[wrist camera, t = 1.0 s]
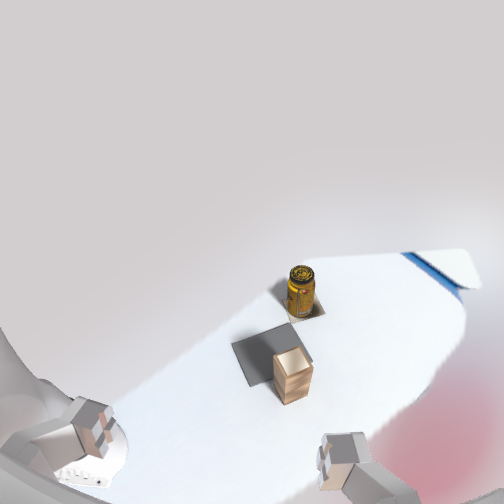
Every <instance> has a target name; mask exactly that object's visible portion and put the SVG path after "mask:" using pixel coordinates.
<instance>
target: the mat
mask: <svg viewBox="0 0 504 504" xmlns="http://www.w3.org/2000/svg"><path fill="white" fill-rule="evenodd" d="M299 345H300V346H301V347H302V349H303V351H304V353H305V354H306V356H307V358H308V359H309V361H310V363H311V362H313V360H312V358H311V357H310V355H309V353H308V352H307V350H306V348H305V347H304V345H303V343H302V342H301V340H300V338H299V337H298V335H297V333H296V331H295V330H294V328H293V326H292V325H291V323H288V324H286V325H283V326H281V327H278V328H275V329H273V330H270V331H267V332H265V333H262V334H259V335H256V336H254V337H251V338H248V339H245V340H243V341H240V342H237V343H234V344H232V346H233V348H234V351H235V353H236V355H237V358H238V360H239V362H240V364H241V367H242V369H243V371H244V374H245V376H246V378H247V380H248V383H249V385H250V387H252V386H255V385H258V384H260V383H263V382H265V381H268V380H271V379H273V378H274V365H273V356H274V355H276V354H279V353H281V352H284V351H286V350H289V349H291V348H294V347H296V346H299Z"/></svg>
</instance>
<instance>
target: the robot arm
mask: <svg viewBox="0 0 504 504" xmlns="http://www.w3.org/2000/svg"><path fill="white" fill-rule="evenodd" d="M113 414H114V412H113V409H112V407H111V406H108V405H105V404H102V403H99V402H96V401H93V400H90V399H86V398H83V397H80V396H79V397H76V398H75V400H74V399H72V398H70V397H68V396H66V395H65V394H64V393H63V392H62V391H60V390H59V389H58V388H57V387H56V386H54V385H53V384H52V383H51V382H49V381H47V380H45V379H38V378H37V377H35V376H34V375H33V374H32V373H31V372H30V371H29V369H28V368H27V367H26V366H25V365H24V363H23V362H22V361H21V359H20V358H19V356H18V355H17V354H16V352H15V351H14V349H13V348H12V346H11V345H10V344H9V342H8V340H7V339H6V337H5V335H4V333H3V332H2V330H1V328H0V504H111V503H108V502H106V501H103V500H100V499H97V498H95V497H92V496H90V495H87V494H85V493H82V492H80V491H77V490H75V489H73V488H70V487H68V486H66V485H64V484H62V483H65V484H71V485H79V486H87V487H96V488H109V487H110V485H111V483H112V480H113V477H114V476H115V474H116V473H117V472H118V471H119V470H120V469H121V468H122V467H123V465H124V463H125V461H126V458H127V453H128V445H127V440H126V437H125V434H124V432H123V431H122V429H121V428H120V427H119V426H118V425H117V423H116V420H115V419H114V418H113V417H112V415H113ZM317 469H318V470H319V471H320V474H319V477H318V480H319V488H320V490H321V491H322V490H342V492H343V493H344V494H345V495H346V496H347V498H348V499H349V500H350V501H351V502H352V503H353V504H421V501H420V499H419V496H418V493H417V491H416V490H414V489H413V488H411V487H410V486H409V485H407V484H406V483H404V482H403V481H402V480H400V479H399V478H398V477H396V476H395V475H393V474H392V473H391V472H390V471H388V470H387V469H386V468H384V467H383V466H382V465H380V464H379V463H378V462H373V460H372V457H371V454H370V451H369V447H368V444H367V441H366V437H365V434H364V433H363V432H352V433H326V434H324V435H323V437H322V446H320V447H319V449H318V453H317ZM99 481H100V484H99V483H98V482H99ZM461 504H504V489H503V488H499V489H495V490H493V491H491V492H489V493H486V494H484V495H481V496H479V497H477V498H474V499H471V500H469V501H466V502H464V503H461Z"/></svg>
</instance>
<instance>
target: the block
mask: <svg viewBox="0 0 504 504" xmlns="http://www.w3.org/2000/svg"><path fill="white" fill-rule="evenodd" d="M273 365H274V386H275V388H276V390H277V392H278V394H279V396H280V398H281V400H282V402H283V404H284V405H287V404H289V403H291V402H294V401H296V400H298V399H301V398H303V397H305V396H307V395H308V390H309V386H310V381H311V377H312V372H313V366H312V364H311V363H310V361H309V359H308V358H307V356H306V354H305V353H304V351H303V349H302V347H301V346H300V345H299V346H296V347H294V348H291V349H289V350H286V351H284V352H281V353H279V354H276V355H274V356H273Z"/></svg>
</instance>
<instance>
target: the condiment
mask: <svg viewBox="0 0 504 504" xmlns="http://www.w3.org/2000/svg"><path fill="white" fill-rule="evenodd" d="M287 295H288V298H287V299H286V300H282V301H283V304H284V306H285V309H286V311H287V314H288V316H289V318H290V321H291V323H296V322H300V321H303V320H307V319H310V318H313V317H317V316H320V315H323V314H326V313H325V311H324V310H323V308H322V306H321V304H320V302H319V300H318V298H317V296H316V294H315V280H314V272H313V270H312V269H311V268H310V267H308V266H305V265H299V266H296V267H294V268H293V269H291V271H290V278H289V280H288V294H287Z"/></svg>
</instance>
